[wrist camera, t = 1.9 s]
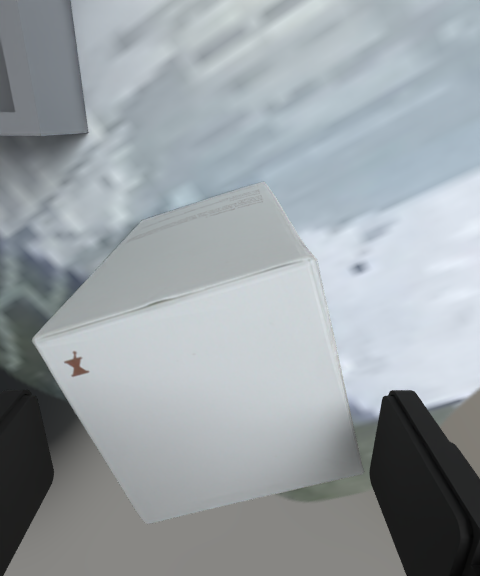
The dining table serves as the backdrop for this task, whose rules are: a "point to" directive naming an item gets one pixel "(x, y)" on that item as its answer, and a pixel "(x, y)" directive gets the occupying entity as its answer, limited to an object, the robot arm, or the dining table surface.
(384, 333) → the dining table surface
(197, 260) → the supplement box
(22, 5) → the bin
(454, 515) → the robot arm
